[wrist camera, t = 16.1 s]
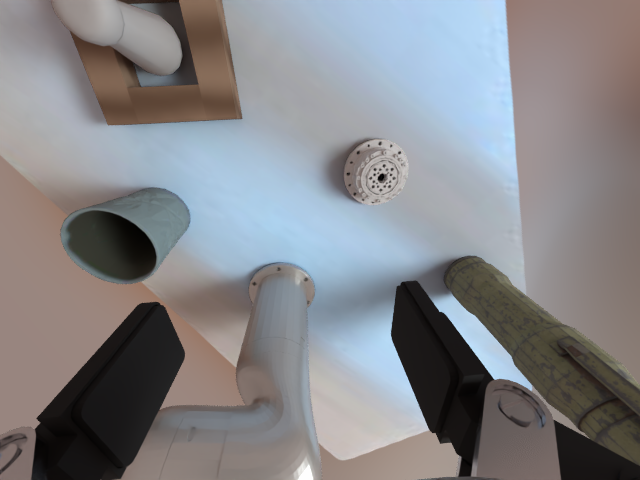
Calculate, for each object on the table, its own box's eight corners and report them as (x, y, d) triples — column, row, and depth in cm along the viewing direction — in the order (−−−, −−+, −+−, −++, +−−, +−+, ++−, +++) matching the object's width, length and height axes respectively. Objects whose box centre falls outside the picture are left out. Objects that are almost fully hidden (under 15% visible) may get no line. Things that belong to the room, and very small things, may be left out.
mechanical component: (379, 123, 35) (330, 172, 37) (389, 123, 31) (333, 178, 33) (416, 172, 38) (369, 214, 41) (430, 178, 34) (376, 223, 37)
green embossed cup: (123, 178, 35) (45, 203, 25) (194, 186, 37) (149, 213, 26) (137, 239, 40) (76, 282, 29) (200, 244, 41) (164, 287, 30)
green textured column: (453, 302, 51) (690, 585, 20) (435, 264, 46) (710, 559, 15) (493, 283, 50) (820, 559, 18) (478, 242, 45) (889, 520, 13)
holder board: (242, 118, 33) (237, 118, 30) (124, 124, 32) (108, 125, 30) (213, -47, 26) (203, -66, 23) (60, -43, 25) (31, -63, 22)
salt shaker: (168, 89, 31) (87, 69, 19) (128, 43, 29) (10, -10, 17) (199, 57, 30) (134, 15, 18) (160, 7, 27) (56, -78, 16)
